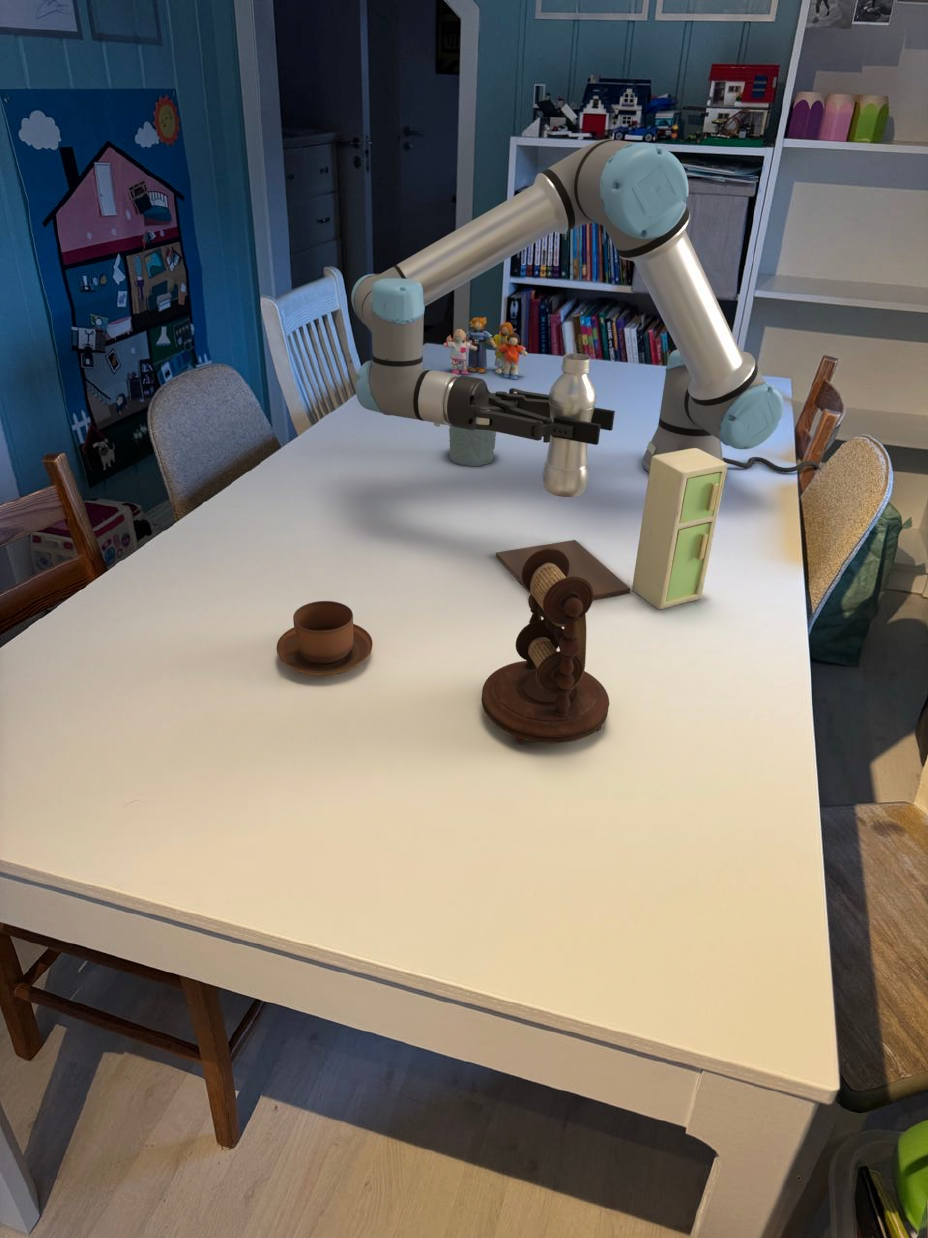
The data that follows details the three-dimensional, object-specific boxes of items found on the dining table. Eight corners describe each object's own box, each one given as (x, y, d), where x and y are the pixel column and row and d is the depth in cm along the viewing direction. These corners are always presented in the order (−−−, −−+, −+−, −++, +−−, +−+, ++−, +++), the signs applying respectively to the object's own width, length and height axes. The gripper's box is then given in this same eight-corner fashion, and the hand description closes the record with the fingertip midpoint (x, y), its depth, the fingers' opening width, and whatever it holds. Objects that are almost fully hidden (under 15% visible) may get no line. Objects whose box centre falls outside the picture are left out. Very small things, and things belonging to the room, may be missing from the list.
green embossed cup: (438, 461, 172) (439, 401, 165) (458, 445, 180) (459, 387, 173) (486, 470, 168) (490, 409, 162) (504, 453, 176) (508, 394, 170)
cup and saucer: (332, 695, 105) (329, 652, 102) (257, 663, 111) (252, 621, 107) (391, 650, 114) (391, 609, 111) (319, 622, 119) (317, 582, 116)
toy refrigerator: (661, 613, 125) (685, 473, 114) (630, 590, 130) (650, 454, 119) (705, 601, 128) (733, 464, 117) (672, 579, 133) (696, 446, 122)
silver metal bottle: (584, 504, 127) (600, 365, 116) (537, 499, 128) (549, 360, 117) (588, 488, 132) (604, 353, 122) (543, 483, 133) (555, 348, 123)
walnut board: (574, 544, 143) (575, 539, 142) (630, 593, 129) (630, 588, 129) (495, 556, 138) (495, 552, 137) (544, 609, 124) (545, 604, 124)
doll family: (442, 373, 224) (443, 319, 217) (448, 363, 232) (450, 311, 225) (525, 380, 221) (528, 326, 214) (529, 369, 229) (532, 317, 222)
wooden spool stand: (627, 741, 100) (653, 587, 89) (504, 763, 96) (516, 604, 86) (577, 669, 112) (594, 526, 101) (465, 686, 108) (471, 538, 98)
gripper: (480, 408, 140) (621, 433, 132) (426, 444, 125) (581, 475, 117) (482, 360, 136) (628, 383, 128) (427, 392, 121) (588, 420, 113)
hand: (605, 427), depth 123 cm, fingers closed on silver metal bottle, 6 cm apart
